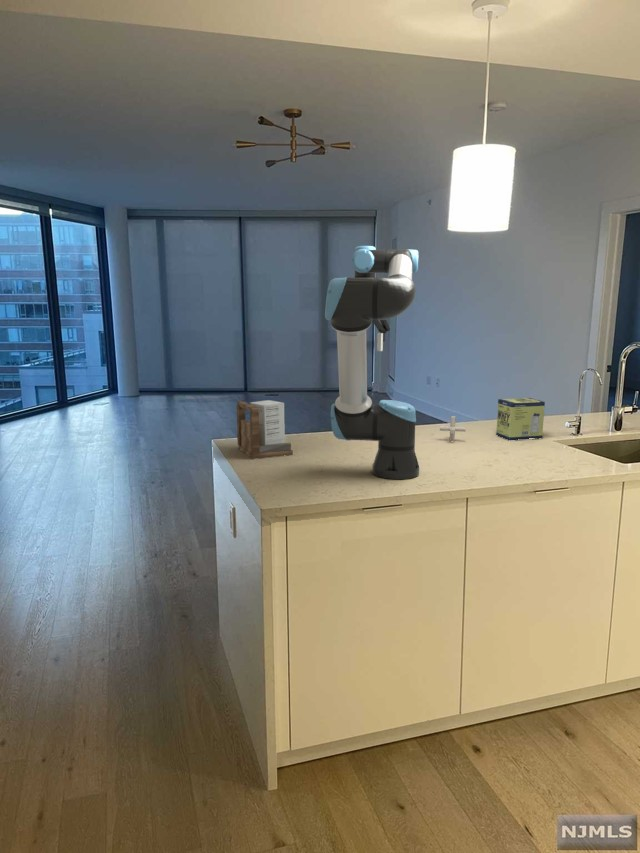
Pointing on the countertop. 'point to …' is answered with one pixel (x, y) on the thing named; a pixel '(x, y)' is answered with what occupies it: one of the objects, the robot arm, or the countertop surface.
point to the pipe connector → (452, 428)
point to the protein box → (520, 418)
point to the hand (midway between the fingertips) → (363, 351)
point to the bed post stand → (255, 435)
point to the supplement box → (270, 422)
